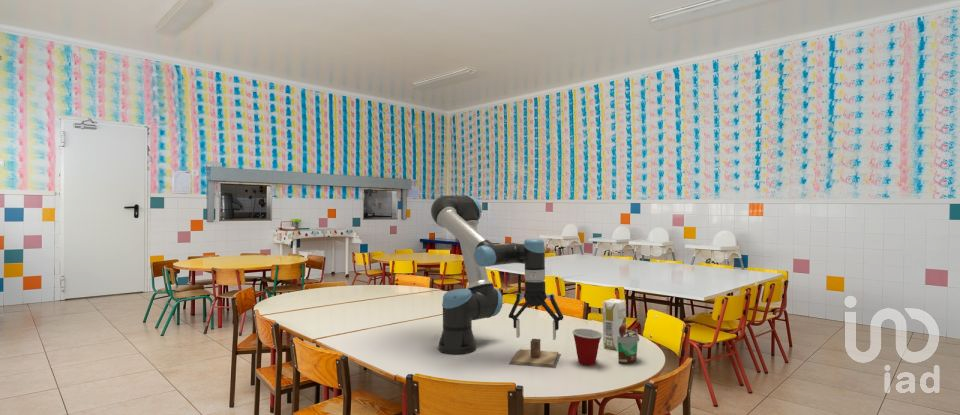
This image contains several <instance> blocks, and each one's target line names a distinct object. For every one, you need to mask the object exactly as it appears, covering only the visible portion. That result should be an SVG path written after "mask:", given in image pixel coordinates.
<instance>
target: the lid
mask: <svg viewBox="0 0 960 415" xmlns="http://www.w3.org/2000/svg"><path fill="white" fill-rule="evenodd" d="M517 351H518V352H517ZM517 351H516V353H517V354H516V353H515V354H516V355H515V354H514V356H515V357H514V356H513V357H514V358H513V357H512V358H513V360H512V359H511V360H512V364H522V365H535V366H547V367H553V366H554V364H555V361H556V359H557V357H558V354H559V351H549V350H541V338H532V339H531V340H530V349H523V348H522V349H521V348H520V349H519V350H517ZM522 365H521V366H522Z"/></svg>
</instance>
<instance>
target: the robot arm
mask: <svg viewBox="0 0 960 415" xmlns="http://www.w3.org/2000/svg"><path fill="white" fill-rule="evenodd" d="M430 215H431V217H432V218H431V219H432V220H433V221H434V222H435V224H437V225H438V226H439V227H441V228H443V229H444V228H445V229H446V230H447V231H448V232H449V233H450V234H452V236H453V237H455V238H456V239H457V240H458V241H459V245H460V251H461V256H462V259H463V263H464V264H463V265H464V268H465V274H466V277H467V282H468V285H467V287H466V288H459V289H458V288H457V289H451V290H449V291H447V292H445V293H444V294H443V295H442V303H441V307H442V332H441V335H440V339H439V341H438V351H440V352H441V353H444V354H447V355H449V354H450V355H462V354H464V355H465V354H469V353H473V352H475V351H476V349H477V342H476V338H475V335H474V332H473V329H472V328H473V327H472V326H473V324H472V323H473V322H472V321H477V320H482V319H489V318H492V317H495V316H497V315H499V313H500V312H501V310H502V307H503V296H502V295H503V294H502V293H501V292H500V290H499V289H498V288H496V287H495V286H494V283H493V282H492V281H491V280H489V276H488V272H487V267H492V266H500V265H501V266H502V265H508V264H509V265H510V264H511V265H512V264H523V265H524V280H525V282H524V293H521V292H518V293H517V294H516V297H515V298H516V299H515V302H514V303H513V305H512V307H511V310H510V312H509V313H508V318H509V319H512V321H513V329H516V330H515V332H516V334H515V336H516V339H518V338H520V336H521V331H520V330H521V326H520V324H521V323H520V322H521V320H520V318H519V317H520V315H521V314H522V313H523V312H524V311H525V310H526V308H527V307H528V306H531V307H542V308H543V309H544V310H545V311H546V312H547V314H549V316H550V317H551V318H552V319H553V320H552V340H554V341H555V340H556V339H557V331H558V330H559V328H560V326H559V323H560V321H563V320H564V314H563V313H562V311H561V309H560V307H559V305H558V303H557V301H556V300H555V299H556V298H555V294H554V293H551V294H547V293H546V281H545V280H546V267H545V266H546V265H545V264H546V260H545V259H546V253H545V252H546V249H545V248H546V247H545V241H544V240H543V239H542V238H529V239H528V238H527V239H524V242H523V243H516V242H508V243H503V244H494V243H493V242H491V241H490V240H489V239H488V238H487V237H485V236H484V235H483V234H482V233H480V232H479V231H478V224H480V223H479V221H480V218H481V216H482V205H481V204H480V201H479V200H478V199H477V198H476V197H475V196H472V195H467V194H464V195H441V196H439V197H437V198H436V199H435V200H434V201H433V203H432V204H431V207H430ZM523 299H524V300H525V303H524V304H523V305H522V306H521V307H520V309H519V310H518V311H517V312H516V310H517V308H518V306H519V304H520V302H521V300H523ZM547 299H548V301H550V304H551V305H552V307H553V309H554V310H552V309H551V307H550V306H549V305H548V303H547V302H546V300H547ZM554 311H555V312H556V313H555V312H554ZM515 312H516V313H515Z"/></svg>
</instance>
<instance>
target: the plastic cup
mask: <svg viewBox="0 0 960 415" xmlns="http://www.w3.org/2000/svg"><path fill="white" fill-rule="evenodd" d="M572 334H573V338H574V339H573V340H574V344H575V349H576V350H575V352H576V356H577V360H578V361H577V362H578V364H579V365H582V366H587V367H589V366H594V365H596V361H597V357H598V351H599V347H600V345H599V344H600V342H601V339H602V337H603V332H600V331H598V330H595V329H592V328H591V329H590V328H575V329H572Z"/></svg>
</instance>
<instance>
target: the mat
mask: <svg viewBox="0 0 960 415" xmlns="http://www.w3.org/2000/svg"><path fill="white" fill-rule="evenodd" d="M518 351H519V350H517V351H516V353H515V354H514V355H513V357H512V359H511V360H510V361H509V363H508V365H510V366H511V365H513V366H522V367H535V368H536V367H537V368H546V369H547V368H548V369H556V368H557V365H558V363H559V361H560V359H561V356H562V354H561V353H558V357H557V359H556V361H555V364H554V366H553V367H547V366H535V365H522V364H512V360H513V358H514V357H515V355H516V354H517V352H518Z"/></svg>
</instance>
